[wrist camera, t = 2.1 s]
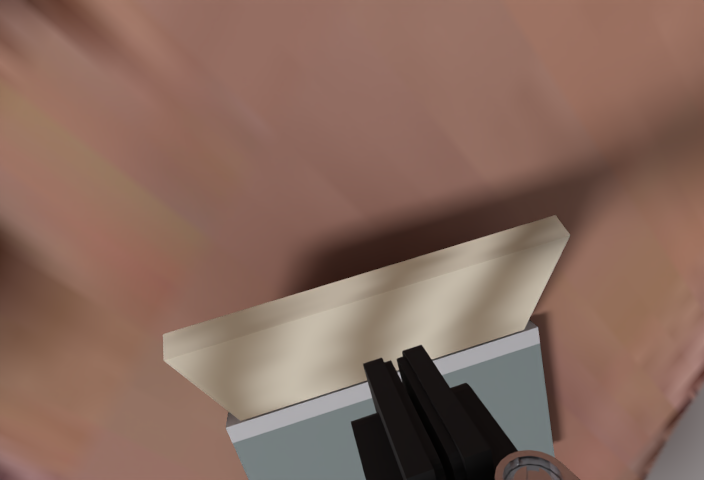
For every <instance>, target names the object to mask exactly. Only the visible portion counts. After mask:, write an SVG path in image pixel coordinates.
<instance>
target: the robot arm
mask: <svg viewBox="0 0 704 480" xmlns="http://www.w3.org/2000/svg"><path fill="white" fill-rule="evenodd" d="M402 355H403V356H402V357H399V358H397V364H398V368H399V372H400V376H401V379H400V377H399V375H398V373H397V371H396V369H395V367H394V365H393V363H392V361H391V360H390V361H387V362H384V361H383V359H382V358H379V359H376V360H373V361H369V362H366V363H363V367H364V370H365V374H366V378H367V381H368V385H369V388H370V392H371V395H372V399H373V403H374V406H375V410H376V413H374V414H371V415H369V416H366V417H363V418H360V419H357V420H354V421H351V425H352V429H353V433H354V437H355V441H356V444H357V448H358V452H359V456H360V460H361V463H362V467H363V471H364V475H365V479H366V480H580V479H579V478H578V477H577V476H576V475H575V474H574V473H573V472H571V471H570V470H569V469H568V468H567V467H566V466H565V465H564V464H563V463H562V462H560V461H559V460H557V459H556V458H554V457H553V456H551V455H548V454H546V453H543V452H540V451H533V450H523V451H518V450H517V449H516V447H515V446H514V445H513V443H512V442H511V441H510V439H509V438H508V436H507V435H506V434H505V432H504V431H503V430H502V428H501V427H500V426H499V424H498V423H497V422H496V420H495V419H494V418H493V416H492V415H491V413H490V412H489V411H488V409H487V408H486V407H485V405H484V404H483V403H482V401H481V400H480V399H479V397H478V396H477V395H476V393H475V392H474V390H473V389H472V388H471V387H470V385H469V384H467V383H463V384H460V385H457V386H454V387H451V388H450V387H449V385H448V384H447V382H446V381H445V379H444V378H443V376H442V375H441V373H440V372H439V370H438V368H437V367H436V365H435V364H434V362H433V361H432V359H431V358H430V356H429V355H428V353H427V352H426V350H425V349H424V347H423V346H422V345H419V346H416V347H413V348H409V349H406V350H403V351H402ZM401 380H402V381H401Z"/></svg>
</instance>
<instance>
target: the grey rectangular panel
mask: <svg viewBox="0 0 704 480" xmlns="http://www.w3.org/2000/svg"><path fill="white" fill-rule="evenodd" d="M432 361H433V362H434V364H435V365H436V367H437V368H438V370H439V372H440V373H441V375H442V376H443V378H444V379H445V381H446V382H447V384H448V385H449V387H450V388H451V387H454V386H457V385H460V384H463V383H467V384H469V385H470V387H471V388H472V389H473V390H474V392H475V393H476V395H477V396H478V397H479V399H480V400H481V401H482V403H483V404H484V405H485V407H486V408H487V409H488V411H489V412H490V413H491V415H492V416H493V418H494V419H495V420H496V422H497V423H498V424H499V426H500V427H501V428H502V430H503V431H504V432H505V434H506V435H507V436H508V438H509V439H510V441H511V442H512V443H513V445H514V446H515V447H516V449H517V450H518V451H523V450H533V451H540V452H543V453H546V454H548V455H551V456H553V457H554V449H553V441H552V433H551V426H550V418H549V410H548V402H547V395H546V387H545V379H544V371H543V363H542V356H541V348H540V339H539V331H538V327H537V326H536V325H535V324H534V323H533V322H532V321H530V320H528V323H527V325H526V327H525V329H524V330H522V331H519V332H515V333H512V334H509V335H506V336H503V337H500V338H497V339H494V340H491V341H488V342H484V343H481V344H478V345H475V346H472V347H469V348H466V349H463V350H460V351H457V352H453V353H450V354H447V355H444V356H441V357H438V358H435V359H432ZM397 373H398V375H399V377H400V379H401V376H400V372H399V370H398V371H397ZM401 381H402V380H401ZM374 413H376V410H375V406H374V403H373V399H372V395H371V392H370V388H369V385H368V381H367V380H366V381H363V382H360V383H357V384H354V385H351V386H348V387H345V388H342V389H339V390H335V391H332V392H329V393H326V394H323V395H320V396H317V397H314V398H311V399H307V400H304V401H301V402H298V403H295V404H292V405H289V406H286V407H283V408H280V409H276V410H273V411H270V412H267V413H264V414H261V415H258V416H255V417H252V418H249V419H245V420H242V421H240V420H239V419H237V418H236V417H235V416H234V415H232V414H231V413H228V417H227V423H226V429H227V432H228V434H229V436H230V438H231V441H232V443H233V445H234V447H235V449H236V452H237V454H238V456H239V459H240V461H241V463H242V465H243V468H244V470H245V472H246V474H247V477H248V479H249V480H366V479H365V475H364V471H363V467H362V463H361V460H360V456H359V452H358V448H357V444H356V441H355V437H354V433H353V429H352V425H351V421H354V420H357V419H360V418H363V417H366V416H369V415H371V414H374ZM554 458H555V457H554Z"/></svg>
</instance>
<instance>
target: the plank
mask: <svg viewBox="0 0 704 480" xmlns="http://www.w3.org/2000/svg"><path fill="white" fill-rule="evenodd" d="M569 237H570V234H569V233H568V231H567V230H566V229H565V227H564V226H563V225H562V223H561V222H560V220H559V219H558V218H557V216H556V215H554V216H551V217H547V218H544V219H541V220H538V221H534V222H531V223H528V224H524V225H521V226H518V227H515V228H511V229H508V230H505V231H501V232H498V233H495V234H492V235H488V236H485V237H482V238H478V239H475V240H472V241H468V242H465V243H462V244H459V245H455V246H452V247H449V248H445V249H442V250H439V251H436V252H432V253H429V254H426V255H422V256H419V257H416V258H413V259H409V260H406V261H403V262H399V263H396V264H393V265H389V266H386V267H383V268H380V269H376V270H373V271H370V272H366V273H363V274H360V275H357V276H353V277H350V278H347V279H343V280H340V281H337V282H334V283H330V284H327V285H324V286H320V287H317V288H314V289H311V290H307V291H304V292H301V293H297V294H294V295H291V296H287V297H284V298H281V299H278V300H274V301H271V302H268V303H264V304H261V305H258V306H255V307H251V308H248V309H245V310H241V311H238V312H235V313H232V314H228V315H225V316H222V317H218V318H215V319H212V320H208V321H205V322H202V323H199V324H195V325H192V326H189V327H185V328H182V329H179V330H176V331H172V332H169V333H166V334H163V353H164V361H165V362H166V363H168V364H169V365H170V366H171V367H173V368H174V369H175V370H176V371H178V372H179V373H180V374H181V375H183V376H184V377H185V378H187V379H188V380H189V381H190V382H192V383H193V384H194V385H195V386H197V387H198V388H199V389H201V390H202V391H203V392H204V393H206V394H207V395H208V396H209V397H211V398H212V399H213V400H215V401H216V402H217V403H218V404H220V405H221V406H222V407H223V408H225V409H226V410H227V411H229V412H230V413H231V414H232V415H234V416H235V417H236V418H237V419H239V420H240V421H242V420H245V419H249V418H252V417H255V416H258V415H261V414H264V413H267V412H270V411H273V410H276V409H280V408H283V407H286V406H289V405H292V404H295V403H298V402H301V401H304V400H307V399H311V398H314V397H317V396H320V395H323V394H326V393H329V392H332V391H335V390H339V389H342V388H345V387H348V386H351V385H354V384H357V383H360V382H363V381H366V380H367V378H366V374H365V370H364V367H363V363H366V362H369V361H373V360H376V359H379V358H382V359H383V361H384V362H387V361H390V360H391V361H392V363H393V365H394V367H395V369H396V371H398V370H399V368H398V364H397V358H399V357H402V356H403V355H402V351H403V350H406V349H409V348H413V347H416V346H419V345H422V346H423V347H424V349H425V350H426V352H427V353H428V355H429V356H430V358H431V359H435V358H438V357H441V356H444V355H447V354H450V353H453V352H457V351H460V350H463V349H466V348H469V347H472V346H475V345H478V344H481V343H484V342H488V341H491V340H494V339H497V338H500V337H503V336H506V335H509V334H512V333H515V332H519V331H522V330H524V329H525V327H526V325H527V323H528V320H529V318H530V316H531V314H532V312H533V310H534V308H535V306H536V304H537V302H538V300H539V298H540V296H541V294H542V292H543V290H544V288H545V286H546V284H547V282H548V280H549V278H550V276H551V274H552V272H553V270H554V267H555V265H556V263H557V261H558V259H559V257H560V255H561V253H562V251H563V249H564V247H565V245H566V243H567V241H568V239H569Z"/></svg>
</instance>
